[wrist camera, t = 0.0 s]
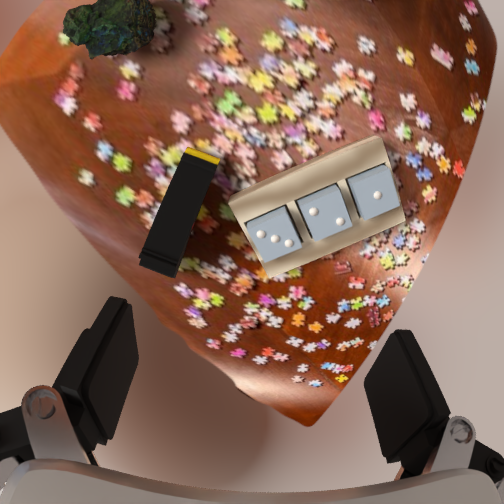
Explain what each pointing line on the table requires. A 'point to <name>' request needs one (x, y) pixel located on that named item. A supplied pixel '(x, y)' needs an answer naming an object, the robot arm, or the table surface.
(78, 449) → the robot arm
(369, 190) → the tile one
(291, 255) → the board
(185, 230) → the toy gun
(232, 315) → the table surface
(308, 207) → the tile two
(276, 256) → the tile three
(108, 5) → the rock
